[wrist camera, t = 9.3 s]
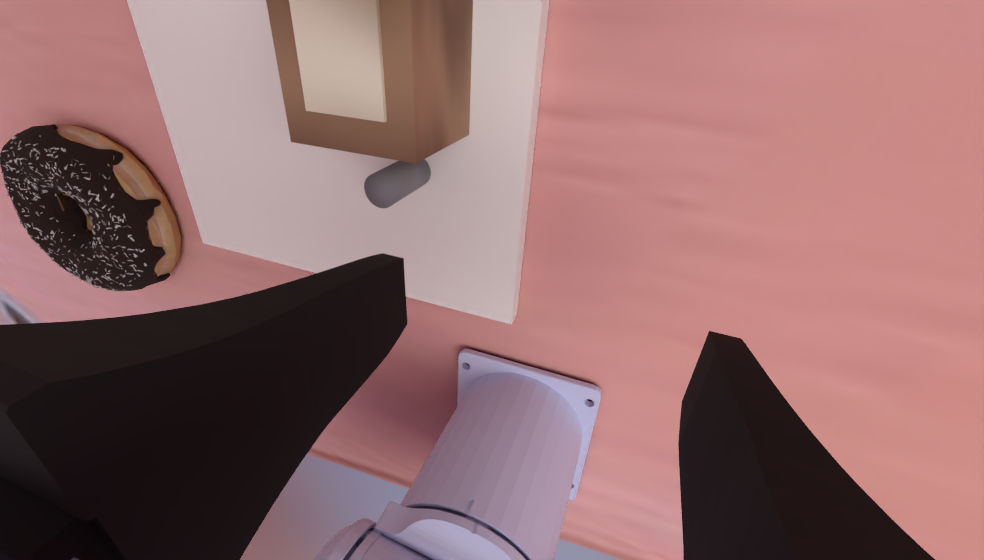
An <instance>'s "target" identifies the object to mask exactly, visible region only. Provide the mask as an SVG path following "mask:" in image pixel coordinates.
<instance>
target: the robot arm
mask: <svg viewBox="0 0 984 560" xmlns="http://www.w3.org/2000/svg"><path fill="white" fill-rule="evenodd" d="M406 325H407V311H406V293H405V275H404V258H400V257H396V256H392V255H388V254H384V253H382V254H377V255H373V256H369V257H365V258H362V259H359V260H356V261H353V262H350V263H346V264H343V265H340V266H337V267H334V268H331V269H328V270H325V271H322V272H320V273H317V274H314V275H311V276H308V277H304V278H301V279H298V280H295V281H291V282H288V283H285V284H281V285H278V286H275V287H271V288H268V289H265V290H261V291H258V292H254V293H250V294H246V295H242V296H238V297H234V298H230V299H225V300H221V301H216V302H212V303H207V304H202V305H197V306H191V307H185V308H178V309H172V310H166V311H160V312H154V313H148V314H140V315H132V316H124V317H115V318H105V319H94V320H83V321H70V322H53V323H33V324H12V325H0V560H240V558H241V556H242V555H243V553H244V551H245V549H246V548H247V546H248V545H249V543H250V541H251V540H252V538H253V536H254V535H255V533H256V531H257V530H258V528H259V526H260V525H261V523H262V521H263V520H264V518H265V517H266V515H267V513H268V512H269V510H270V508H271V507H272V505H273V504H274V502H275V501H276V499H277V497H278V496H279V494H280V493H281V491H282V490H283V488H284V487H285V485H286V484H287V482H288V480H289V479H290V478H291V476H292V474H293V473H294V472H295V470H296V468H297V467H298V466H299V464H300V463H301V461H302V460H303V458H304V457H305V455H306V454H307V453H308V451H309V450H310V448H311V447H312V446H313V444H314V443H315V441H316V440H317V438H318V437H319V436H320V434H321V433H322V432H323V430H324V429H325V428H326V427H327V425H328V424H329V423H330V422H331V420H332V419H333V418H334V417H335V416H336V414H337V413H338V412H339V411H340V410H341V409H342V407H343V406H344V405H345V404H346V403H347V402H348V401H349V399H350V398H351V397H352V396H353V395H354V394H355V392H356V391H357V390H358V389H359V388H360V387H361V386H362V384H363V383H364V382H365V381H366V380H367V379H368V377H369V376H370V375H371V374H372V373H373V372H374V370H375V369H376V368H377V367H378V366H379V365H380V363H381V362H382V361H383V360H384V359H385V357H386V356H387V355H388V353H389V352H390V350H391V349H392V347H393V346H394V344H395V343H396V341H397V340H398V338H399V337H400V335H401V333H402V332H403V330H404V328H405V327H406ZM466 363H468V364H469V365H470V366H469V365H467V364H466ZM601 395H602V391H601V390H600V388H599V387H597V386H595V385H593V384H589V383H586V382H582V381H579V380H576V379H572V378H569V377H565V376H562V375H558V374H555V373H551V372H548V371H544V370H541V369H537V368H534V367H530V366H527V365H523V364H520V363H516V362H513V361H509V360H506V359H502V358H499V357H495V356H492V355H488V354H485V353H481V352H478V351H474V350H471V349H463V350H462V351H461V352H460V353H459V356H458V395H457V408H456V410H455V411H454V413H453V415H452V417H451V418H450V420H449V422H448V423H447V425H446V427H445V429H444V430H443V432H442V434H441V435H440V437H439V439H438V441H437V442H436V444H435V446H434V448H433V449H432V451H431V453H430V454H429V456H428V458H427V460H426V461H425V463H424V465H423V466H422V468H421V470H420V472H419V473H418V475H417V477H416V479H415V480H414V482H413V484H412V485H411V487H410V489H409V491H408V493H407V494H406V496H405V497H404V499H403V501H402V503H401V504H400V505H399V504H396V503H394V502H390V503H389V504H388V506H387V508H386V509H385V511H384V513H383V514H382V516H381V517H380V519H379V521H378V522H377V523H375V522H373V521H371V520H369V519H361V520H358V521H357V522H355V523H354V524H352V525H350V526H348V527H346V528H344V529H342V530H340V531H339V532H338V533H337V534H336V535H335V536H334V537H332V539H331V540H330V541H329V542H328V543H327V544H326V545H325V546H324V547H323V549H322V550H321V551H320V552H319V554H318V555H317V556H316V558H315V559H314V560H554V558H555V554H556V550H557V546H558V541H559V537H560V533H561V529H562V524H563V520H564V516H565V512H566V508H567V503H568V500H574V499H575V498H576V495H577V491H578V487H579V483H580V479H581V475H582V471H583V467H584V463H585V459H586V455H587V451H588V447H589V443H590V439H591V435H592V431H593V427H594V423H595V419H596V416H597V412H598V408H599V404H600V400H601ZM587 399H590V400H592V401H593V402H590V401H588V400H587ZM679 466H680V487H681V506H682V525H683V544H684V560H935V559H934V558H932V557H931V556H930V555H929V554H928V553H927V552H926V551H925V550H924V549H923V548H921V547H920V546H919V545H918V544H917V543H916V542H915V541H914V540H913V539H912V538H911V537H910V536H909V535H908V534H907V533H906V532H904V531H903V530H902V529H901V528H900V527H899V526H898V525H897V524H896V523H895V522H894V521H893V520H892V519H891V518H890V517H889V516H888V515H887V514H886V513H885V512H884V511H883V510H882V509H881V508H880V507H879V506H878V505H877V504H876V503H875V502H874V501H873V500H872V499H871V498H870V497H869V496H868V495H867V494H866V493H865V491H864V490H863V489H862V488H861V487H860V486H859V485H858V484H857V483H856V482H855V481H854V480H853V479H852V478H851V477H850V476H849V475H848V474H847V473H846V471H845V470H844V469H843V468H842V467H841V466H840V465H839V464H838V463H837V461H836V460H835V459H834V458H833V457H832V456H831V455H830V453H829V452H828V451H827V450H826V449H825V448H824V446H823V445H822V444H821V443H820V442H819V441H818V439H817V438H816V437H815V436H814V435H813V434H812V432H811V431H810V430H809V429H808V427H807V426H806V425H805V424H804V422H803V421H802V420H801V419H800V418H799V416H798V415H797V414H796V412H795V411H794V410H793V409H792V407H791V406H790V405H789V403H788V402H787V401H786V399H785V398H784V397H783V396H782V394H781V393H780V391H779V390H778V389H777V387H776V386H775V385H774V383H773V382H772V381H771V379H770V378H769V376H768V375H767V374H766V372H765V371H764V369H763V368H762V367H761V365H760V364H759V362H758V361H757V360H756V358H755V357H754V355H753V354H752V353H751V351H750V350H749V348H748V347H747V346H746V344H745V343H744V342H743V340H742V339H740V338H736V337H732V336H728V335H724V334H719V333H715V332H711V331H709V333H708V336H707V338H706V341H705V344H704V346H703V349H702V351H701V354H700V357H699V359H698V362H697V364H696V367H695V369H694V372H693V375H692V377H691V380H690V382H689V385H688V388H687V390H686V393H685V395H684V398H683V400H682V408H681V419H680V431H679Z"/></svg>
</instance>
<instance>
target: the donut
mask: <svg viewBox="0 0 984 560" xmlns="http://www.w3.org/2000/svg"><path fill="white" fill-rule="evenodd" d="M0 165H1V166H0V167H1V168H2V172H1V173H2V176H4V183H5V187H6V188H7V192H8V193H9V194H8V196H10V197H11V198H10V199H11V200H12V202H13V204H14V207H15V208H14V209H15V210H16V212H17V215H18V217H19V219H20V222H21V223H20V224H22V225H23V227H24V228H25V230H26V231H27V233H28V234H29V235H30V237H31V239H32V240H34V242H35V243H36V244H37V245H38V246H39V247H41V249H43V250H44V251H45V253H47V255H48V256H50V257H51V259H52V261H55V262H56V263H57V265H59V266H60V267H62V268H64V269H65V270H66V271H67V272H69V273H70V274H72V276H73V275H74V276H77V277H78V278H80V279H81V280H84V281H85V282H86V283H88V284H90V285H93V286H96V288H97V287H99V288H102V289H103V288H104V289H106V290H108V291H109V290H113V291H131V290H138V289H143V288H144V287H146V286H148V285H151V284H154V283H157V282H160V281H163V280H166V279H167V278H168V277H169V276H170V272H171V271H172V270H173V269H174V267H175V265H176V263H177V261H178V259H179V257H180V248H181V236H180V231H179V227H178V223H177V219H176V215H175V213H174V212H173V210H172V208H171V206H170V204H169V202H168V200H167V198H166V196H165V194H164V193H163V191H162V189H161V187H160V186H159V184H158V183H157V181H156V180H155V179H154V177H153V176H152V175H151V174H150V172H149V171H148V170H147V168H146V167H145V166H144V165H143V164H142V163H140V162H139V161H138V160H137V159H136V158H135V157H134V156H133V155H132V154H131V153H130V152H129V151H128V150H127V149H125V148H124V147H122V146H120V145H118V144H117V143H115V142H113V141H112V140H110V139H108V138H107V137H105V136H103V135H102V134H100V133H98V132H94V131H91V130H88V129H85V128H81V127H78V126H75V125H46V126H34V127H31V128H29V129H26V130H24V131H22V132H21V133H19V134H18V133H17V135H14V136H13V137H12V138H11V139H10V140H9V141H8V142H7V143H6V144H5V145H4V146H3V149H2V152H1V153H0Z"/></svg>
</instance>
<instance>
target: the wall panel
mask: <svg viewBox="0 0 984 560" xmlns="http://www.w3.org/2000/svg"><path fill="white" fill-rule="evenodd" d="M127 2H128V6H129V9H130V12H131V15H132V18H133V22H134V25H135V28H136V31H137V34H138V38H139V41H140V44H141V47H142V50H143V53H144V57H145V60H146V63H147V66H148V69H149V73H150V76H151V79H152V82H153V85H154V89H155V92H156V95H157V98H158V101H159V105H160V108H161V111H162V114H163V117H164V120H165V124H166V127H167V130H168V133H169V136H170V140H171V143H172V146H173V149H174V152H175V156H176V159H177V162H178V165H179V168H180V172H181V175H182V178H183V181H184V184H185V187H186V191H187V194H188V197H189V200H190V203H191V207H192V210H193V213H194V216H195V219H196V223H197V226H198V229H199V232H200V235H201V239H202V242H203V243H204V244H208V245H211V246H215V247H219V248H223V249H227V250H230V251H234V252H238V253H242V254H246V255H249V256H253V257H257V258H261V259H265V260H268V261H272V262H276V263H280V264H284V265H287V266H291V267H295V268H299V269H303V270H306V271H310V272H314V273H320V272H322V271H325V270H328V269H331V268H334V267H337V266H340V265H343V264H346V263H350V262H353V261H356V260H359V259H362V258H365V257H369V256H373V255H377V254H382V253H384V254H388V255H392V256H396V257H400V258H404V275H405V293H406V297H409V298H412V299H416V300H420V301H424V302H428V303H431V304H435V305H439V306H443V307H447V308H450V309H454V310H458V311H462V312H466V313H469V314H473V315H477V316H481V317H485V318H488V319H492V320H496V321H500V322H503V323H507V324H512V322H513V320H514V319H515V317H516V315H517V311H518V301H519V291H520V282H521V272H522V262H523V253H524V243H525V233H526V224H527V214H528V204H529V194H530V185H531V175H532V165H533V156H534V146H535V136H536V127H537V117H538V107H539V97H540V88H541V78H542V68H543V59H544V49H545V39H546V30H547V20H548V10H549V0H473V19H472V55H471V90H470V126H469V135H468V136H466V137H464V138H462V139H460V140H459V141H457V142H455V143H453V144H451V145H449V146H448V147H446V148H444V149H442V150H440V151H438V152H436V153H435V154H433V155H431V156H429V157H427V158H425V159H424V160H422V161H420V162H418V163H410V162H404V161H398V160H393V159H387V158H381V157H375V156H369V155H364V154H358V153H352V152H346V151H340V150H335V149H329V148H323V147H317V146H311V145H306V144H300V143H294V142H291V139H290V134H289V128H288V122H287V117H286V111H285V105H284V99H283V94H282V88H281V82H280V77H279V71H278V65H277V60H276V54H275V48H274V43H273V37H272V31H271V26H270V20H269V14H268V9H267V3H266V0H127Z"/></svg>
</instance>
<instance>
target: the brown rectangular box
mask: <svg viewBox="0 0 984 560" xmlns="http://www.w3.org/2000/svg"><path fill="white" fill-rule="evenodd" d="M266 3H267V9H268V14H269V20H270V26H271V31H272V37H273V43H274V48H275V54H276V60H277V65H278V71H279V77H280V82H281V88H282V94H283V99H284V105H285V111H286V117H287V122H288V128H289V134H290V139H291V142H294V143H300V144H306V145H311V146H317V147H323V148H329V149H335V150H340V151H346V152H352V153H358V154H364V155H369V156H375V157H381V158H387V159H393V160H398V161H404V162H410V163H418V162H420V161H422V160H424V159H425V158H427V157H429V156H431V155H433V154H435V153H436V152H438V151H440V150H442V149H444V148H446V147H448V146H449V145H451V144H453V143H455V142H457V141H459V140H460V139H462V138H464V137H466V136H468V135H469V126H470V90H471V55H472V19H473V0H266Z"/></svg>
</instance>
